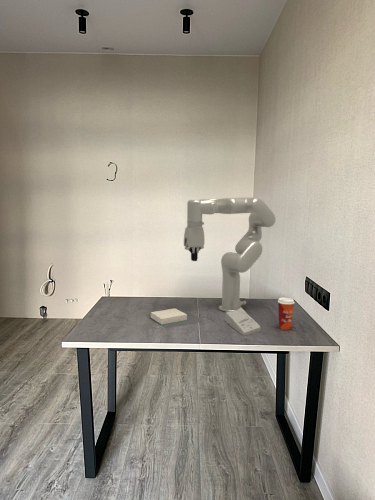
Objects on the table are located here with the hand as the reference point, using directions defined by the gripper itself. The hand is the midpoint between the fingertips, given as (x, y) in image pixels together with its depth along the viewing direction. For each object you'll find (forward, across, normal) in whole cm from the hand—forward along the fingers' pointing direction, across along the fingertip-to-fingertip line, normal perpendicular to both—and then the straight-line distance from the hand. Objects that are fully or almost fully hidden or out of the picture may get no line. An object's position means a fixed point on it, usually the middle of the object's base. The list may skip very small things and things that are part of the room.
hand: (194, 260), depth 191 cm
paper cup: (+29, -28, +37) cm, 55 cm away
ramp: (+30, -13, +24) cm, 40 cm away
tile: (+27, +8, 0) cm, 28 cm away
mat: (+29, +11, 0) cm, 31 cm away
